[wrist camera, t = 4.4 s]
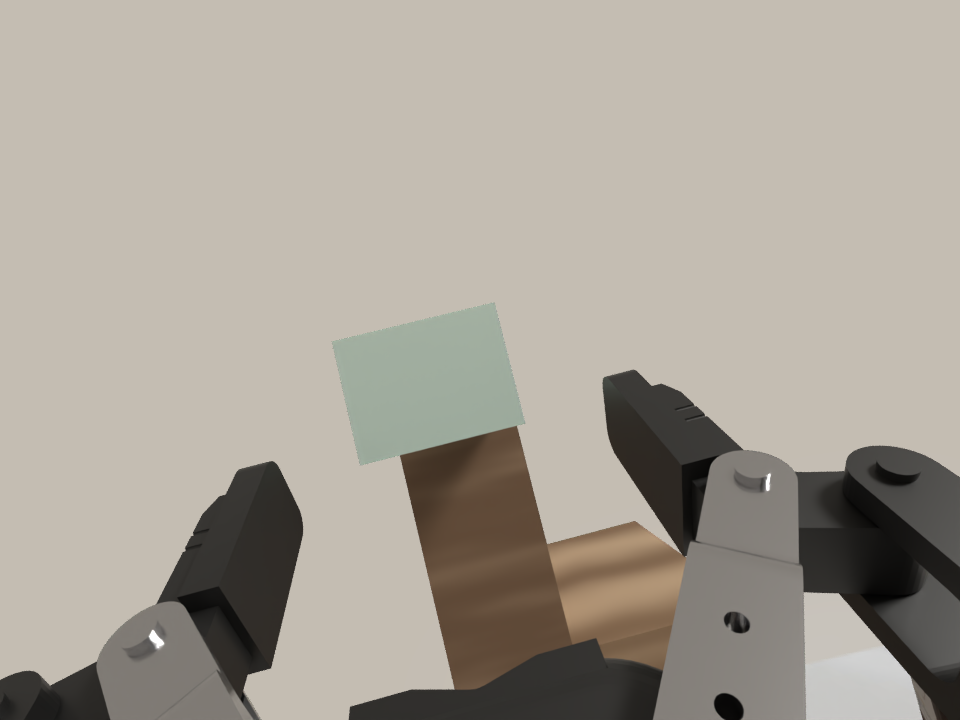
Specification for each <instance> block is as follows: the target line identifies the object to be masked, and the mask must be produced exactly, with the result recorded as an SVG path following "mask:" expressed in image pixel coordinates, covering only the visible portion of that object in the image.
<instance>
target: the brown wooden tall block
mask: <svg viewBox="0 0 960 720" xmlns="http://www.w3.org/2000/svg"><path fill="white" fill-rule="evenodd" d="M400 457H401V461H402V466H403V470H404V475H405V479H406V483H407V487H408V492H409V496H410V500H411V504H412V509H413V513H414V517H415V522H416V526H417V530H418V534H419V538H420V543H421V547H422V551H423V556H424V560H425V564H426V568H427V573H428V577H429V581H430V586H431V590H432V594H433V598H434V603H435V607H436V611H437V615H438V620H439V624H440V628H441V632H442V636H443V640H444V645H445V650H446V653H447V658H448V662H449V666H450V671H451V675H452V679H453V684H454V688H455V690H471V689H477V688H480V687H482V686H484V685H486V684H487V683H489V682H491V681H493V680H494V679H496V678H498V677H499V676H501V675H503V674H504V673H506V672H508V671H510V670H511V669H513V668H515V667H516V666H518V665H520V664H522V663H523V662H525V661H527V660H528V659H530V658H532V657H534V656H535V655H537V654H541V653H544V652H548V651H551V650H555V649H559V648H562V647H566V646H569V645H573V644H576V643H580V642H584V641H587V640H591V639H594V638H597V641H598V644H599V646H600V649H601V651H602V654H603V656H604V658H617V659H625V660H632V661H636V662H640V663H644V664H647V665H650V666H653V667H655V668H658V669H661V670H663V669H664V664H665V659H666V654H667V650H668V645H669V640H670V635H671V630H672V625H673V620H674V616H675V611H676V606H677V601H678V596H679V591H680V586H681V582H682V577H683V572H684V567H685V562H686V557H684V556H683V555H681V554H680V553H679V552H677V551H676V550H674V549H673V548H672V547H670V546H669V545H667V544H666V543H665V542H663V541H662V540H661V539H659V538H658V537H656V536H655V535H653V534H652V533H651V532H649V531H648V530H647V529H645V528H644V527H642V526H641V525H640V524H638V523H637V522H635V521H633V522H630V523H626V524H622V525H618V526H615V527H611V528H607V529H603V530H599V531H596V532H592V533H589V534H585V535H581V536H577V537H574V538H569V539H566V540H562V541H558V542H554V543H550V544H547V543H546V539H545V535H544V531H543V527H542V523H541V519H540V515H539V511H538V508H537V504H536V500H535V496H534V492H533V488H532V484H531V480H530V476H529V472H528V468H527V464H526V460H525V456H524V452H523V448H522V445H521V440H520V437H519V433H518V429H517V426H514V427H510V428H506V429H502V430H498V431H494V432H490V433H486V434H482V435H478V436H474V437H470V438H466V439H462V440H458V441H454V442H451V443H447V444H443V445H439V446H435V447H431V448H427V449H423V450H419V451H415V452H411V453H407V454H403V455H400Z"/></svg>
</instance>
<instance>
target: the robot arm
mask: <svg viewBox="0 0 960 720" xmlns="http://www.w3.org/2000/svg"><path fill="white" fill-rule="evenodd" d="M603 394H604V403H605V412H606V423H607V431H608V436H609V440H610V443H611V446H612V448H613V451H614V453H615V454H616V456H617V458H618V459H619V460H620V462H621V464H622V465H623V467H624V468H625V469H626V471H627V473H628V474H629V475H630V477H631V479H632V480H633V481H634V483H635V485H636V486H637V488H638V489H639V491H640V492H641V494H642V495H643V496H644V498H645V500H646V501H647V503H648V504H649V506H650V507H651V509H652V510H653V511H654V513H655V515H656V516H657V518H658V519H659V520H660V522H661V523H662V525H663V526H664V528H665V529H666V531H667V532H668V534H669V535H670V537H671V538H672V540H673V541H674V543H675V544H676V546H677V547H678V549H679V550H680V552H681V553H682V555H683V556H684V557H685V556H687V557H686V562H685V567H684V572H683V577H682V582H681V586H680V591H679V596H678V601H677V606H676V611H675V616H674V620H673V625H672V630H671V635H670V640H669V645H668V650H667V654H666V659H665V664H664V669H663V670H661V669H658V668H655V667H653V666H650V665H647V664H644V663H640V662H636V661H632V660H625V659H617V658H604V656H603V654H602V651H601V649H600V646H599V644H598V641H597V638H594V639H591V640H587V641H584V642H580V643H576V644H573V645H569V646H566V647H562V648H559V649H555V650H551V651H548V652H544V653H541V654H537V655H535V656H534V657H532V658H530V659H528V660H527V661H525V662H523V663H522V664H520V665H518V666H516V667H515V668H513V669H511V670H510V671H508V672H506V673H504V674H503V675H501V676H499V677H498V678H496V679H494V680H493V681H491V682H489V683H487V684H486V685H484V686H482V687H480V688H477V689H471V690H409V691H405V692H401V693H398V694H394V695H391V696H387V697H384V698H380V699H377V700H373V701H369V702H366V703H363V704H359V705H355V706H352V707H350V713H349V720H806V694H805V643H804V595H803V594H804V592H813V593H839V594H840V595H841V596H842V598H843V599H844V600H845V601H846V602H847V603H848V604H849V605H850V607H851V608H852V609H853V610H854V611H855V613H856V614H857V615H858V616H859V617H860V618H861V619H862V621H863V622H864V623H865V624H866V625H867V626H868V628H869V629H870V630H871V631H872V632H873V633H874V634H875V636H876V637H877V638H878V639H879V640H880V641H881V643H882V644H883V645H884V646H885V647H886V648H887V649H888V651H889V652H890V653H891V654H892V655H893V656H894V658H895V659H896V660H897V661H898V662H899V663H900V664H901V666H902V667H903V668H904V669H905V670H906V671H907V673H908V674H909V675H910V676H911V677H912V678H913V679H914V681H915V682H916V683H917V684H918V685H919V686H920V688H921V689H922V690H923V691H924V692H925V693H926V694H927V696H928V697H929V698H930V699H931V700H932V701H933V703H934V704H935V705H936V706H937V707H938V708H939V710H940V711H941V712H942V713H943V714H944V715H945V716H946V718H947V719H948V720H960V477H959V476H957V475H955V474H954V473H953V472H951V471H950V470H948V469H947V468H945V467H944V466H942V465H941V464H939V463H938V462H936V461H934V460H933V459H931V458H929V457H927V456H925V455H922V454H920V453H917V452H914V451H911V450H907V449H903V448H898V447H891V446H869V447H864V448H860V449H858V450H855V451H854V452H852V453H851V454H850V455H849V456H848V458H847V461H846V467H845V471H839V472H794V470H793V469H792V468H791V467H790V466H789V465H788V464H787V463H785V462H783V461H782V460H780V459H779V458H777V457H774V456H772V455H769V454H766V453H762V452H757V451H749V450H743V449H742V448H741V447H740V446H739V445H737V443H735V442H734V441H733V440H732V439H731V438H730V437H729V436H728V435H727V434H726V433H725V432H724V431H723V430H721V429H720V428H719V427H718V426H717V425H716V424H715V423H714V422H713V421H712V420H711V419H710V418H709V417H705V414H704V413H703V412H702V411H701V410H700V409H699V408H698V407H697V406H696V407H695V406H694V404H693V403H692V402H691V401H690V400H689V399H688V398H687V397H686V396H684V394H683V393H681V392H680V391H678V390H675V389H673V388H670V387H668V386H666V385H663V384H658V385H654V386H651V385H650V384H649V383H648V382H647V381H646V380H645V379H644V378H643V377H642V376H641V375H640V374H639V373H638V372H637V371H636V370H630V371H626V372H623V373H619V374H615V375H611V376H607V377H604V378H603ZM193 535H194V536H191V538H190V539H189V541H188V543H187V546H186V547H185V549H186V551H185V552H183V553H182V555H181V557H180V559H179V561H178V563H177V565H176V567H175V569H174V571H173V573H172V575H171V576H170V578H169V581H168V582H167V584H166V586H165V588H164V590H163V592H162V594H161V596H160V598H159V600H158V602H157V604H156V605H154V606H151V607H149V608H147V609H145V610H143V611H141V612H140V613H138V614H136V615H135V616H133V617H132V618H131V619H129V620H128V621H127V622H125V623H124V624H123V625H122V626H121V627H120V628H119V629H118V630H117V631H116V632H115V633H114V634H113V635H112V636H111V638H110V639H109V640H108V641H107V643H106V644H105V645H104V647H103V649H102V651H101V652H100V654H99V657H98V660H97V662H95V663H93V664H91V665H89V666H88V667H86V668H84V669H82V670H80V671H78V672H76V673H74V674H72V675H70V676H68V677H66V678H64V679H62V680H60V681H58V682H56V683H55V684H53V685H51V686H50V685H49V684H48V683H47V682H46V681H45V680H44V679H43V678H42V677H41V676H40V675H39V674H38V673H36V672H34V671H23V672H19V673H15V674H13V675H10V676H8V677H5V678H3V679H1V680H0V720H261V719H260V717H259V715H258V713H257V712H256V710H255V708H254V707H253V705H252V703H251V701H250V700H249V698H248V697H247V695H246V694H245V692H244V691H243V689H244V685H245V682H246V678H247V675H248V674H252V673H255V672H259V671H263V670H267V669H270V668H271V666H272V662H273V658H274V654H275V650H276V645H277V641H278V637H279V633H280V629H281V624H282V620H283V616H284V612H285V608H286V603H287V599H288V595H289V591H290V587H291V583H292V578H293V574H294V570H295V566H296V561H297V557H298V553H299V549H300V545H301V541H302V536H303V522H302V517H301V513H300V510H299V508H298V506H297V504H296V502H295V500H294V498H293V495H292V493H291V492H290V489H289V487H288V485H287V483H286V481H285V479H284V477H283V475H282V473H281V471H280V469H279V467H278V465H277V464H276V463H275V462H273V461H271V462H266V463H262V464H258V465H254V466H250V467H246V468H242V469H239V470H238V471H237V473H236V474H235V477H234V479H233V481H232V483H231V485H230V487H229V489H228V491H227V493H226V495H223V496H220V497H218V498H217V499H216V501H215V502H214V503H213V504H212V505H211V506H210V507H209V508H208V509H207V510H206V511H205V512H204V513H203V514H202V516H201V518H200V520H199V522H198V524H197V526H196V528H195V530H194V532H193Z"/></svg>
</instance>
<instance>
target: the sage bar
mask: <svg viewBox="0 0 960 720" xmlns="http://www.w3.org/2000/svg"><path fill="white" fill-rule="evenodd" d="M332 345H333V349H334V353H335V358H336V362H337V366H338V371H339V375H340V380H341V384H342V388H343V393H344V397H345V402H346V406H347V410H348V415H349V419H350V424H351V428H352V432H353V436H354V441H355V446H356V450H357V454H358V459H359V463H360V465H364V464H368V463H372V462H376V461H380V460H383V459H387V458H391V457H395V456H399V455H403V454H407V453H411V452H415V451H419V450H423V449H427V448H431V447H435V446H439V445H443V444H447V443H451V442H454V441H458V440H462V439H466V438H470V437H474V436H478V435H482V434H486V433H490V432H494V431H498V430H502V429H506V428H510V427H514V426H518V425H521V424H525V420H524V417H523V413H522V409H521V405H520V401H519V397H518V393H517V389H516V385H515V381H514V377H513V374H512V369H511V365H510V362H509V358H508V354H507V350H506V346H505V342H504V338H503V334H502V330H501V326H500V322H499V318H498V314H497V311H496V307H495V303H490V304H486V305H482V306H477V307H473V308H469V309H465V310H461V311H457V312H452V313H448V314H445V315H440V316H437V317H432V318H428V319H424V320H419V321H415V322H411V323H407V324H403V325H399V326H395V327H390V328H386V329H382V330H378V331H374V332H370V333H366V334H362V335H357V336H353V337H349V338H345V339H341V340H337V341H333V342H332Z"/></svg>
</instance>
